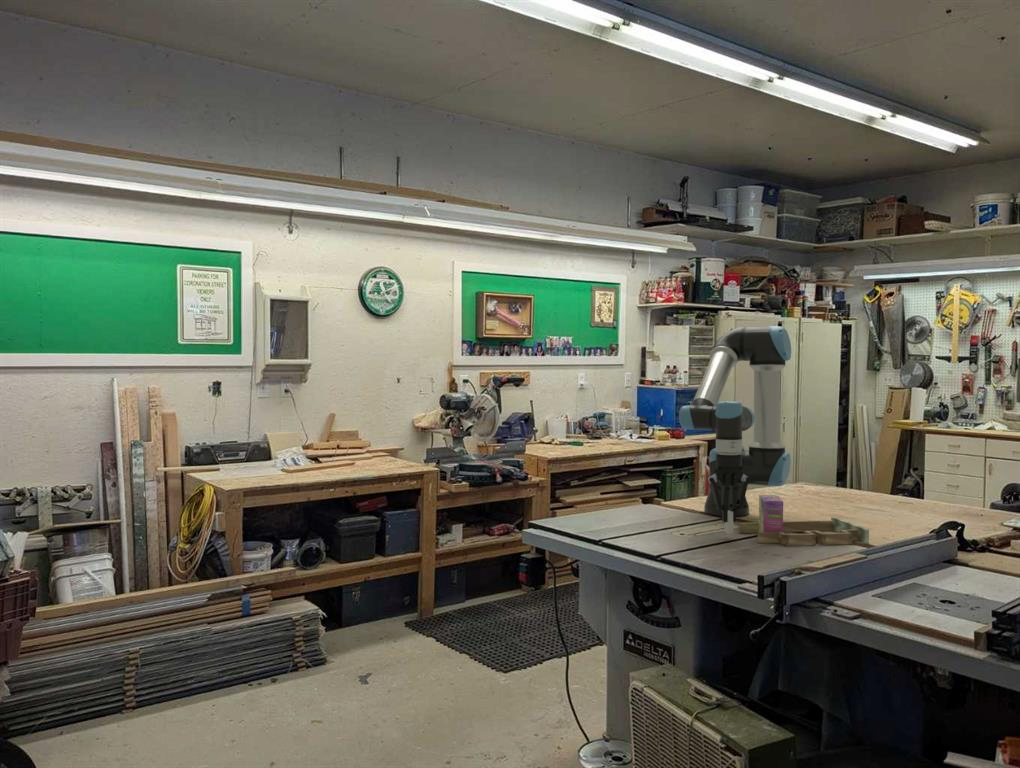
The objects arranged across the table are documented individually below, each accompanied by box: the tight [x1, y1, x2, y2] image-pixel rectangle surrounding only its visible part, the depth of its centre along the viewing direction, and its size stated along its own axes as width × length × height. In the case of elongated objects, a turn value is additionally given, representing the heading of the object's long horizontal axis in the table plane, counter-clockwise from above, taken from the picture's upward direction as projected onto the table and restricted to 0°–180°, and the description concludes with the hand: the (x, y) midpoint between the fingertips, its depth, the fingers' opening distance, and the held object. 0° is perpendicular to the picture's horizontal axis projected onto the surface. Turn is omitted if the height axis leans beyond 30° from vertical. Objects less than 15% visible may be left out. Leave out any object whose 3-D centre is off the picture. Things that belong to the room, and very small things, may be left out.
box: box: [758, 494, 784, 533], centre depth 229 cm, size 10×6×12 cm, turn 168°
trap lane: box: [737, 516, 870, 547], centre depth 228 cm, size 19×31×4 cm, turn 96°
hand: (728, 532), depth 227 cm, fingers closed
